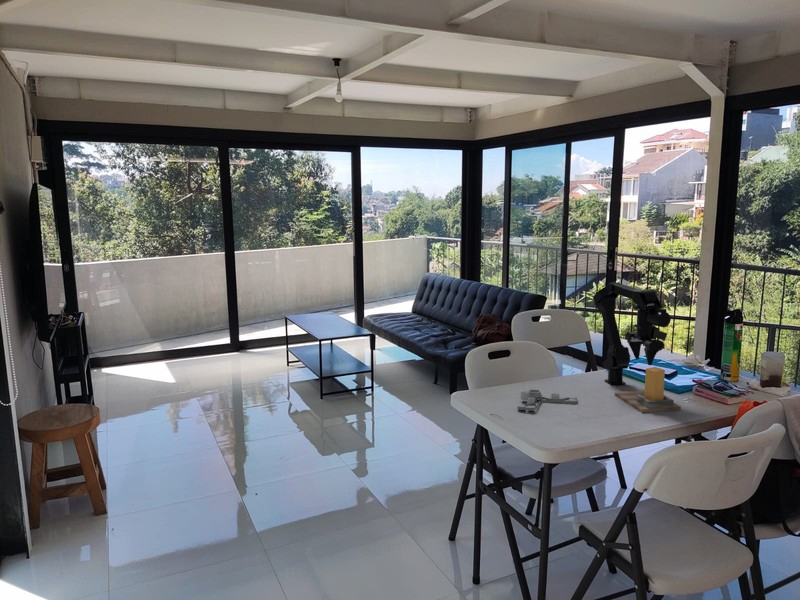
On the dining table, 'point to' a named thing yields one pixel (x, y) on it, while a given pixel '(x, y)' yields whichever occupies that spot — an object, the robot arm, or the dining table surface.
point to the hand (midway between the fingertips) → (643, 362)
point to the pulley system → (536, 395)
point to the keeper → (646, 402)
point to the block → (654, 384)
